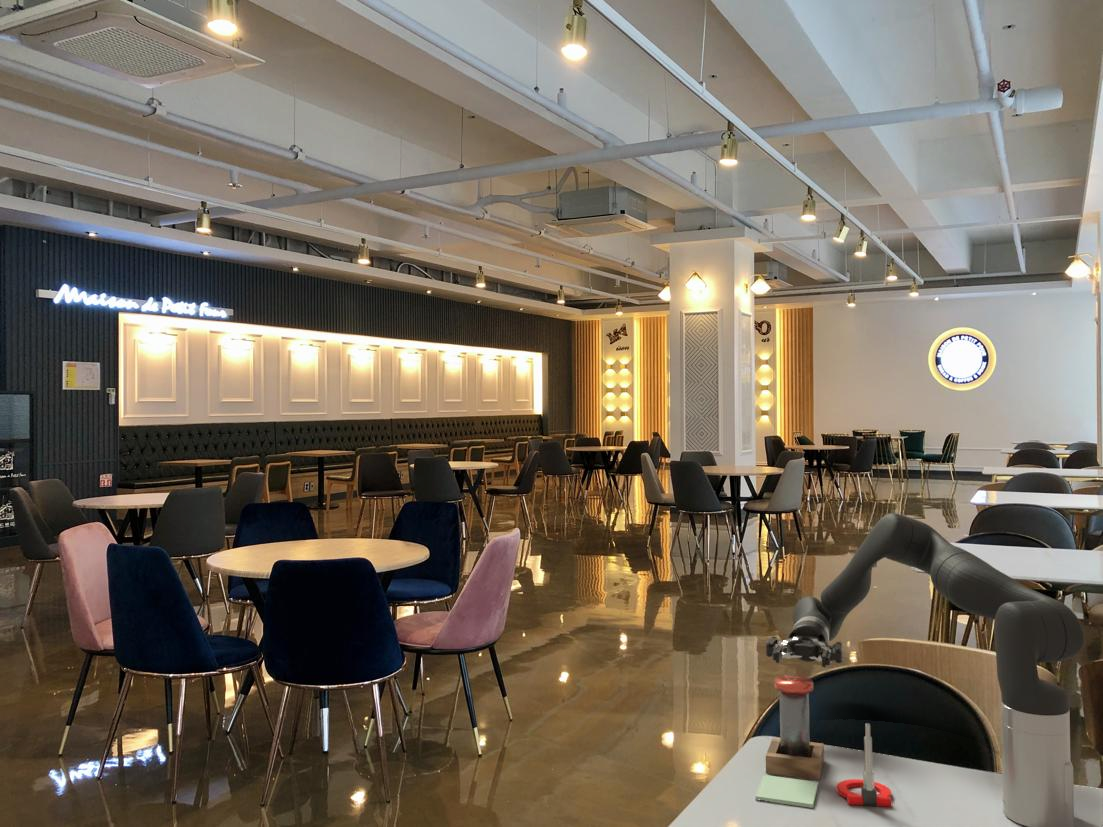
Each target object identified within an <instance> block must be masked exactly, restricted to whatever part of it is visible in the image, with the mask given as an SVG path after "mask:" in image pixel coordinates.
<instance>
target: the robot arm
mask: <svg viewBox="0 0 1103 827" xmlns="http://www.w3.org/2000/svg"><path fill="white" fill-rule="evenodd" d="M885 558H886V559H887V560H889V561H893V562H896V563H899V564H902V565H905V566H907V567H910V568H911V567H912V568H915V569H916V570H917V569H918V570H920V571H921V572H922V571H923V572H924V573H925V574H928V575H929V576H930V580H931V581H930V582H931V583H932V586H933V588H934V589H935V590H936V591H937V592H938V593H939V594H940V595H941V596H942V597H943V598H945V599H947V601H949V602H950V603H952V604H953V605H955V606H956V607H957V608H959V609H961V610H963V611H965V612H967V613H971V614H973V615H976V616H979V617H982V618H983V617H984V618H986V619H990V620H994V625H993V627H994V628H993V629H994V630H993V631H994V632H993V633H994V634H993V636H994V644H995V645H994V646H995V658H996V659H995V660H996V674H997V675H996V676H997V682H998V686H999V688H1000V693H1001V694H1000V695H1001V742H1002V744H1001V746H1002V749H1001V750H1002V752H1001V753H1002V760H1001V761H1002V804H1003V805H1002V806H1003V808H1002V810H1003V814H1004V815H1005V817H1006V818H1008V819H1010V820H1011V821H1013V822H1015V823H1017V824H1019V825H1022V826H1025V827H1075V804H1074V803H1075V802H1074V796H1075V794H1074V792H1075V790H1074V788H1075V787H1074V766H1073V763H1072V761H1071V725H1070V724H1071V723H1070V722H1071V721H1070V720H1071V719H1070V718H1071V717H1070V714H1071V713H1070V712H1071V711H1070V695H1069V692H1068V690H1066V689H1065V688H1064V687H1063V686H1060V685H1059V684H1057V683H1054V682H1051V681H1048V680H1046V679H1045V680H1044V679H1042V678H1040V677H1039V671H1038V663H1052V662H1053V663H1055V662H1064V661H1067V660H1070V659H1073V658H1075V657H1076V656H1078V655H1079V654H1080V653H1081V651H1082V650H1083V649H1084V646H1085V642H1086V638H1085V631H1084V628H1083V625H1082V623H1081V621H1080V619H1079V618H1078V616H1077V615H1076V613H1074V611H1073V610H1072V609H1071V608H1070V607H1069V606H1068V605H1067V604H1064V603H1063V602H1061V601H1059V600H1058V599H1055V598H1052V597H1050V596H1048V595H1045V594H1043V593H1041V592H1039V591H1037V590H1034V589H1032V588H1030V587H1028V586H1026V585H1025V584H1022V583H1020V582H1018V581H1017V580H1015V579H1014V578H1012V577H1010V576H1009V575H1007V574H1005V573H1004V572H1002V571H1000V570H999V569H996V568H995V567H994V566H992V565H991V564H989V563H988V562H986V561H985V560H983V559H981V558H980V557H978V556H976V555H975V554H974V553H972V552H969V551H967V550H965V549H963V548H961V547H959V546H955V545H954V544H952V543H951V542H949V541H948V540H947V539H946V538H945V537H943V536H942V535H941V534H940V533H939V532H938V531H937V530H936V529H934V528H933V527H932V526H931V525H929V524H927V523H925V522H923V521H921V520H917V519H915V518H911V517H908V516H906V515H903V514H899V513H896V512H891V513H887V514H885V515H883V516H882V517H881V518H880V519H879V520H878V521H877V522H876V523H875V525H874V526H873V527H872V529H871V530H870V531H869V533H868V534H867V536H866V537H865V539H864V540H863V541H862V543H861V544H860V546H859V547H858V549H857V551H856V552H855V553H854V555H853V557H852V558H851V559H850V561H849V562H848V563H847V565H846V567H845V568H844V569H843V570H842V571H841V572H840V573H839V574H838V575H837V576H836V577H835V578H834V579H833V580H832V581H831V582H830V583H829V584H828V585H826V586H825V588H824V589H823V590H822V591H821V594H820V599H818V598H817V597H816V596H812V595H811V596H810V595H808V596H804V597H803V598H801V599H800V600H799V601H797V603H796V604H795V606H794V609H793V611H792V621H793V627H792V629H791V631H790V633H789V635H788V637H787V638H786V639H784V640H779V638H778V637H777V636H771V637H770V638H769V639H768V640H767V642H766V643H765V644H766V646H765V654H766V657H768V658H771V657H772V660H773V661H775V663H777V664H781V661H782V659H789V660H790V659H794V658H795V659H796V658H797V659H798V660H801V661H803V662H806V663H809V662H810V663H811V662H812V663H813V662H815V661H817V662H819V663H821V668H827V666H831V663H832V662H833V661H835V663H837V664H842V663H843V642H840V641H836V642H835V643H832V644H833V645H829V643H830V642H831V641H833V640H834V639H835V638H836V637H837V635H838V633H839V632H840V630H841V628H842V626H843V623H844V621H845V619H846V618H847V617H848V615H849V614H850V613H851V612H852V611H853V610H854V609H855V608H857V606H858V605H860V604H861V603H862V601H863V600H865V599H866V597H867V595H868V594H869V592H870V590H871V587H872V586H871V585H872V571H873V567H874V565H876V564H877V563H878V562H879V561H880V560H882V559H885Z"/></svg>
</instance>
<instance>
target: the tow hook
mask: <svg viewBox="0 0 1103 827" xmlns="http://www.w3.org/2000/svg"><path fill="white" fill-rule="evenodd" d="M864 730H865V733H864V734H865V736H863V745H864V747H863V748H864V749H863V751H864V755H863V756H864V758H863V759H864V771H863V774H862V775H863V776H862V779H853V778H852V779H846V780H842V781H840V782H838V783H837V785H836V791H837V793H838V794H839V795H841V797H843V798H846V800H847V804H848V805H857V806H863V807H892V791H891V789H890V788H889V787H888V786H886V785H884V784H882V783H879V782H877V781H875V774H874V772H873V738H872V736H871V724H870V723H868V722H867V723H865V725H864ZM857 787H860V789H861V790H860V791H861V792H860V793H857V792H854V791H852V790H849V789H851V788H857ZM877 792H879V793H877ZM860 794H861V795H860Z"/></svg>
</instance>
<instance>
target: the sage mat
mask: <svg viewBox="0 0 1103 827" xmlns="http://www.w3.org/2000/svg"><path fill="white" fill-rule="evenodd" d="M818 787H819V781H814V780H805V779H798V778H791V777H790V778H789V777H782V776H774V775H770V774H769V775H767V774H763V776H762V778H761V781H760V783H759V785H758V788H757V791H756V794H755V800H756V799H760V800H767V801H770V802H769V803H775V804H776V803H777V804H783V805H788V806H796V807H803V808H812V809H813V808H814V805H815V801H816V796H817V792H818ZM760 800H759V801H760ZM767 801H766V802H767Z"/></svg>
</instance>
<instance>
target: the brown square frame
mask: <svg viewBox="0 0 1103 827" xmlns="http://www.w3.org/2000/svg"><path fill="white" fill-rule="evenodd" d="M824 745H825V744H824V743H823V742H821V743H820V742H813V741H810V758H808V757H799V756H791V755H783V754H781V742H780V738H779V737H772V738H771V742H770V744H769V746H768V750H767V752H766V754H765V773H766V774H772V775H778V776H779V775H781V776H789V777H795V778H803V779H811V780H818V781H820V778H821V776H822V771H823V767H824V761H825V748H824V747H825V746H824Z"/></svg>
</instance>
